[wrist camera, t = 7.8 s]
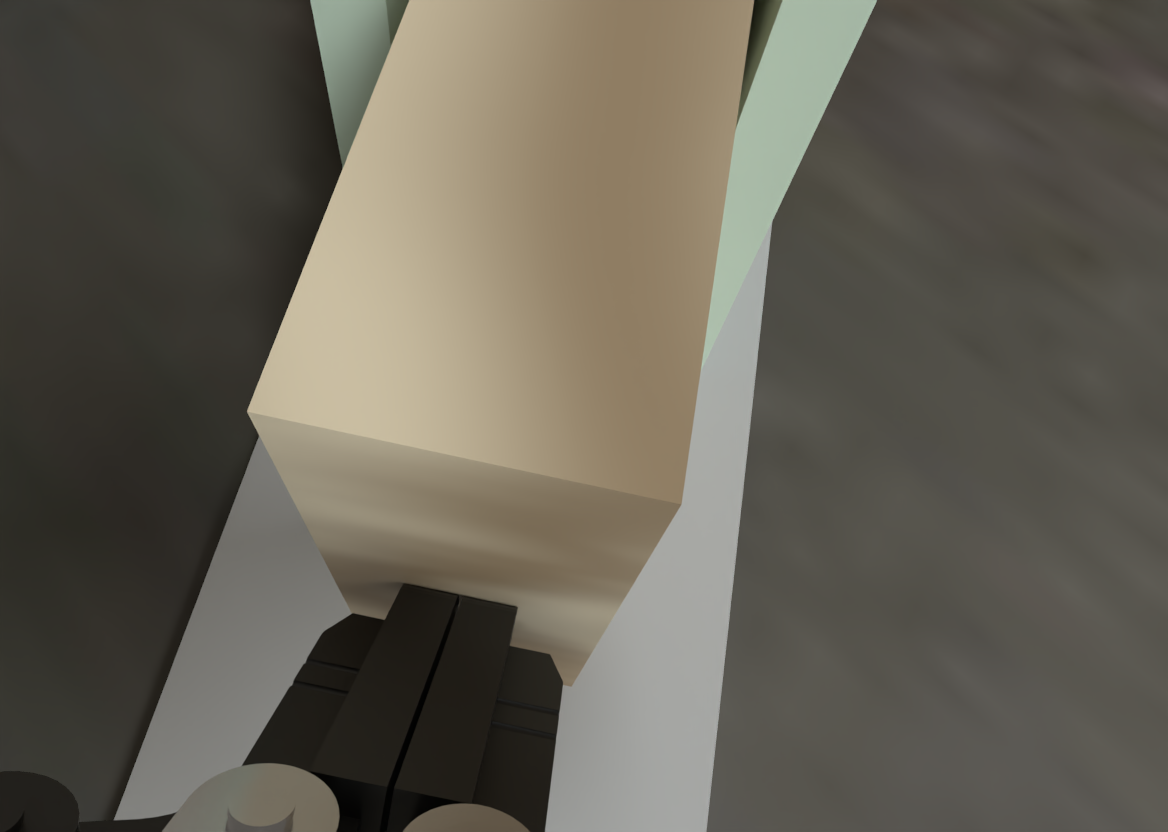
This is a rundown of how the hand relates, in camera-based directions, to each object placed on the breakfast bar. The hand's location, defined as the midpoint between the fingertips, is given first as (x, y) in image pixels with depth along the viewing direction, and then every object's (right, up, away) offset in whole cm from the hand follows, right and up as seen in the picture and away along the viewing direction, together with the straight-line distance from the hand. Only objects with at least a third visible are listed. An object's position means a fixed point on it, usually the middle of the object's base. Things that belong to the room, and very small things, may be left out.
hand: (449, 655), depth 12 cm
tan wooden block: (+1, +4, +6) cm, 8 cm away
